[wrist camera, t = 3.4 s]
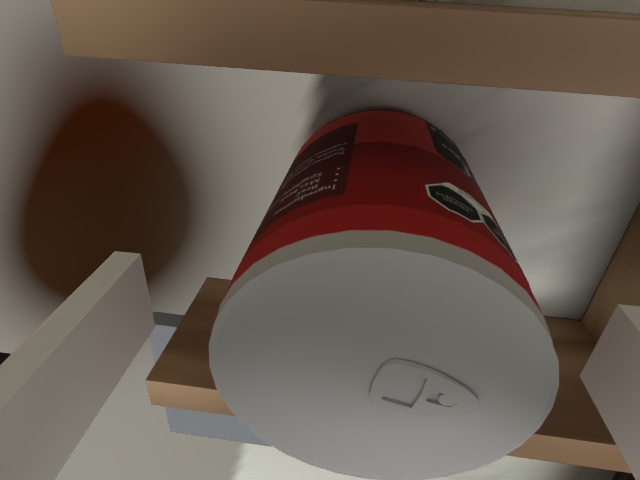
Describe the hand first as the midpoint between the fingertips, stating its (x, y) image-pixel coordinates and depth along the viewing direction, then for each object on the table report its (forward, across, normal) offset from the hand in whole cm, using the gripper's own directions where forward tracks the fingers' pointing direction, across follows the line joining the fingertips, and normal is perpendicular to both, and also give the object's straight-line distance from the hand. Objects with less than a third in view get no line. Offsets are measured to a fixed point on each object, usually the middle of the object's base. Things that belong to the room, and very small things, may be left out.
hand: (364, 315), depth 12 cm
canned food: (+8, 0, 0) cm, 8 cm away
